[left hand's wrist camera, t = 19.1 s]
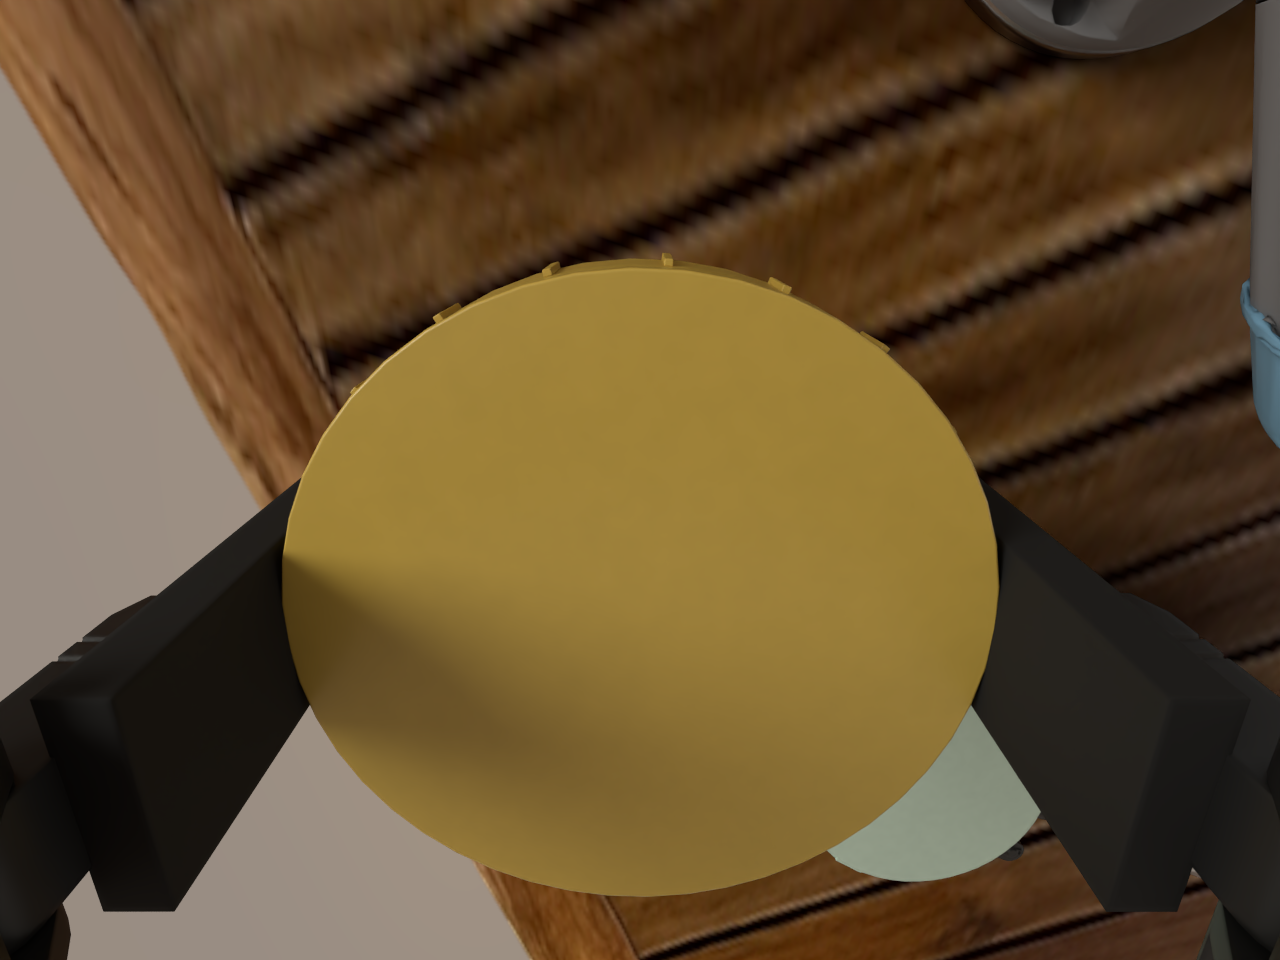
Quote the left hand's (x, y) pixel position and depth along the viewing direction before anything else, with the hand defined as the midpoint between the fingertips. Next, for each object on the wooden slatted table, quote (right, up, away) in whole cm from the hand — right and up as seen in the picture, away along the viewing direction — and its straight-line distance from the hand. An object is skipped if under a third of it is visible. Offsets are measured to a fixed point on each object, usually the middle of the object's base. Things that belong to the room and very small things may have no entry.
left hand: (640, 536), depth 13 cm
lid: (0, -1, -3) cm, 3 cm away
